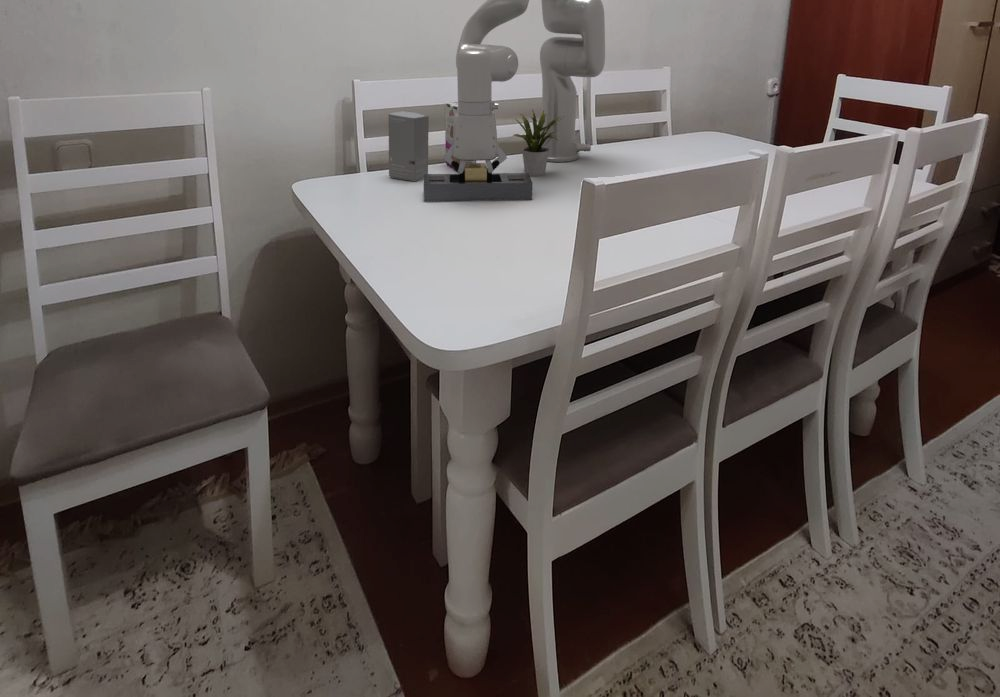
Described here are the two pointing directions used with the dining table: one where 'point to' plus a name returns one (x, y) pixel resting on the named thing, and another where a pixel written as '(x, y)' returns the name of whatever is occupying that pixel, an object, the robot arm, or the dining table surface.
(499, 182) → the grey slotted block
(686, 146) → the dining table surface
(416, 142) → the skincare box
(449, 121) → the candy bar box
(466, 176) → the brass block
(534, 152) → the house plant
